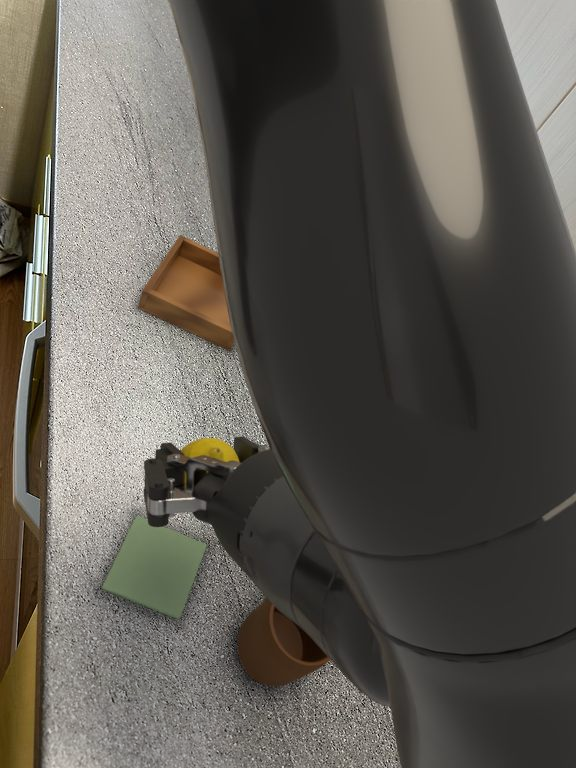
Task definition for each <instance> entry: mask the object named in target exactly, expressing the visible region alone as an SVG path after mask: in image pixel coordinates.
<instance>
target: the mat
mask: <svg viewBox="0 0 576 768" xmlns="http://www.w3.org/2000/svg"><path fill="white" fill-rule="evenodd" d="M207 546H208V544H206V543H204V542H203V541H199V540H197V539H195V538H193V537H190V536H187V535H186V534H182V533H181V532H179V531H176V530H173V529H171V528H169V527H167V526H163V527H152V526H150V525H149V524H148V519H147V518H145V517H142V516H139V515H137V514H136V515H135V518H134V520H133V522H132V524H131V526H130V528H129V530H128V533H127V534H126V537H125V539H124V541H123V543H122V545H121V547H120V549H119V551H118V553H117V555H116V558H115V559H114V561H113V563H112V565H111V568H110V570H109V571H108V573H107V576H106V578H105V580H104V582H103V584H102V586H101V590H104V591H106V592H109V593H111V594H113V595H116V596H118V597H121V598H123V599H126V600H128V601H130V602H133V603H136V604H138V605H141V606H143V607H146V608H149V609H151V610H153V611H155V612H159V613H161V614H164V615H166V616H169V617H171V618H173V619H176V620H180V619H181V616H182V614H183V611H184V609H185V606H186V603H187V600H188V597H189V595H190V593H191V590H192V587H193V584H194V581H195V579H196V576H197V573H198V570H199V568H200V565H201V563H202V560H203V557H204V555H205V551H206V549H207Z"/></svg>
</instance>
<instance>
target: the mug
mask: <svg viewBox="0 0 576 768" xmlns="http://www.w3.org/2000/svg"><path fill="white" fill-rule="evenodd" d="M237 635H238V636H237V643H236V645H237V653H238V654H237V655H238V658H239V660H240V662H241V665H242V667H243V668H244V669H243V670H245V672H246V673H247V674H248V675H249V676H250V677H251V678H252V679H253V680H254V681H256V682H258V683H259V684H262V685H264V686H268V687H275V688H276V687H284V686H286V685H289V684H292V683H293V682H296V681H297V680H300V679H302V678H304V677H306V676H308V675H309V674H311V673H314V672H316V671H318V670H319V669H321V668H323V667H324V666H325V665H327V664H328V663H329V662H330V661H331V660H330V658H329V657H328V656H327V655H326V654H325V653H324V652H323V651H322V650H321V649H320V647H319V646H318V645H317V644H316V643H315V642H314V641H313V640H312V639H311V638H310V637H309V635H308V634H307V633H306V632H305V631H304V630H303V629H302V628H301V627H299V626H298V625H297V624H296V623H294V622H293V621H291V620H290V619H289V618H287V617H286V616H285V615H283V614H282V613H281V612H280V611H279V610H278V609H277V608H276V607H275V606H274V605H273V604H272V603H271V602H270V601H269V600H268V599H267V597H265V599H264V600H262V602H260V603H259V604H258V605H257V606H256V607H255V608H254V609H253V610H252V611H251V612H250V613H249V614H247V616H246V617H245V619H244V620H243V622H242V624H241V625H240V628H239V631H238V633H237Z"/></svg>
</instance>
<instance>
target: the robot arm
mask: <svg viewBox="0 0 576 768" xmlns="http://www.w3.org/2000/svg"><path fill="white" fill-rule="evenodd" d="M167 3H168V5H169V8H170V11H171V14H172V18H173V21H174V22H173V23H174V25H175V28H176V32H177V36H178V40H179V43H180V46H181V50H182V54H183V58H184V63H185V66H186V69H187V72H188V78H189V82H190V88H191V93H192V98H193V99H192V100H193V103H194V107H195V113H196V119H197V125H198V129H199V135H200V140H201V145H202V152H203V157H204V163H205V170H206V176H207V182H208V191H209V198H210V206H211V213H212V221H213V227H214V228H213V229H214V235H215V241H216V247H217V248H216V249H217V253H218V255H219V262H220V268H221V275H222V282H223V289H224V294H225V299H226V304H227V309H228V314H229V319H230V324H231V329H232V333H233V337H234V341H235V342H234V345H235V349H236V353H237V357H238V361H239V365H240V368H241V372H242V374H243V377H244V380H245V384H246V388H247V390H248V394H249V396H250V399H251V404H252V405H253V409H254V411H255V413H256V416H257V418H258V421H259V424H260V426H261V429H262V431H263V434H264V436H265V439H266V442H267V444H264V445H263V444H262V445H259V444H258V443H256V442H255V441H252V440H250V439H249V438H247V437H246V436H235V437H234V438H233V447H232V448H233V449H234V451H235V452H236V454H237V456H238V458H239V462H237V461H234V460H231V461H227V462H225V461H222V460H219V459H216V458H212V457H209V456H206V455H200V456H196V457H193V458H190V457H187V456H184V453H182V452H181V449H179V448H178V447H177V446H176V445H174V444H173V443H172V442H161V443H160V448H157V449H155V451H154V452H155V453H154V454H155V455H154V456H155V457H154V458H149V459H145V460H144V461H143V469H144V470H143V471H144V487H143V500H144V507H145V512H146V519H147V520H148V524H149V525H150V526H152V527H163V526H164V527H167V526H168V525H169V523H170V518H173V517H175V514H185V513H191V514H192V515H193V517H194V518H195V519H197V520H199V521H200V522H203V523H206V524H208V525H211V527H212V530H213V531H214V534H215V536H216V538H217V540H218V542H219V544H220V546H221V547H222V548H223V550H224V551H225V553H226V554H227V555H228V556H229V557H230V559H232V561H233V562H234V563H235V564H236V565H237V567H239V568H240V569H241V571H242V572H243V573H244V574H245V575H246V576H247V577H248V579H249V580H251V582H252V583H253V584H254V585H255V587H256V588H258V590H259V591H260V592H261V593H262V594H263V595H264V597H265V598H267V599H268V600H269V601H270V602H271V603H272V604H273V605H274V606H275V607H276V608H277V609H278V610H279V611H280V612H281V613H282V614H283V615H285V616H286V617H287V618H289V619H290V620H291V621H293V622H294V623H296V624H297V625H298V626H299V627H301V628H302V629H303V630H304V631H305V632H306V633H307V634H308V635H309V637H310V638H311V639H312V640H313V641H314V642H315V643H316V644H317V645H318V646H319V647H320V649H321V650H322V651H323V652H324V653H325V654H326V655H327V656H328V657H329V658H330V661H331V662H332V664H334V666H335V667H336V668H337V669H338V671H340V673H341V674H343V676H344V677H345V678H346V679H347V680H348V681H350V683H351V684H352V685H353V686H354V687H355V688H356V689H357V690H358V691H359V692H361V693H362V694H363V695H364V696H365V697H367V698H368V699H370V700H371V701H373V702H375V703H376V704H378V705H381V706H383V707H388V708H390V712H391V719H392V724H393V731H394V737H395V743H396V750H397V755H398V760H399V764H400V768H576V248H575V245H574V242H573V238H572V236H571V233H570V230H569V226H568V223H567V220H566V217H565V214H564V211H563V207H562V205H561V202H560V199H559V196H558V193H557V190H556V186H555V182H554V180H553V177H552V174H551V171H550V168H549V164H548V162H547V159H546V156H545V152H544V150H543V149H544V148H543V146H542V143H541V140H540V137H539V134H538V131H537V128H536V125H535V121H534V118H533V115H532V112H531V109H530V105H529V103H528V100H527V96H526V93H525V90H524V87H523V83H522V81H521V78H520V74H519V72H518V68H517V65H516V62H515V60H514V59H515V58H514V56H513V52H512V49H511V46H510V43H509V39H508V36H507V33H506V29H505V26H504V23H503V20H502V19H503V18H502V17H501V14H500V10H499V6H498V3H497V0H167ZM207 471H208V472H207ZM185 472H186V483H185Z"/></svg>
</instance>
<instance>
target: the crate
mask: <svg viewBox="0 0 576 768" xmlns="http://www.w3.org/2000/svg"><path fill="white" fill-rule="evenodd" d="M137 309H139V310H141V311H143V312H146V313H148V314H150V315H152V316H154V317H157V318H158V319H160V320H163V321H165V322H168V323H169V324H171V325H173V326H176V327H177V328H180V329H182V330H184V331H186V332H189V333H190V334H193V335H195V336H197V337H199V338H200V339H203V340H206V341H207V342H210V343H212V344H214V345H215V346H218V347H220V348H223V349H225V350H227V351H228V352H231V351H232V349H233V348H234V347H233V346H234V345H235V341H234V337H233V333H232V329H231V324H230V319H229V314H228V309H227V304H226V299H225V294H224V289H223V282H222V275H221V268H220V262H219V255H218V251H215V250H213V249H211V248H209V247H207V246H205V245H203V244H200V243H198V242H197V241H194V240H192V239H191V238H188V237H186V236H184V235H182V234H180V235H179V236H178V237H177V239H176V240H175V242H174V243H173V245H172V246H171V248H170V249H169V251H168V252H167V253H166V255H165V257H164V258H163V259H162V261H161V262H160V264H159V265H158V266H157V268H156V269H155V271H154V272H153V274H152V275H151V277H150V278H149V279H148V281H147V283H146V284H145V285H144V287H143V289H142V291H141V295H140V299H139V301H138V305H137Z"/></svg>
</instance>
